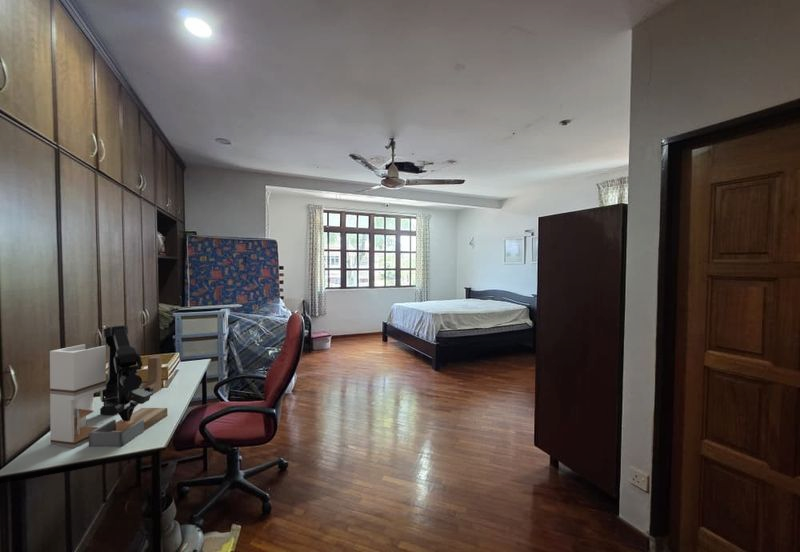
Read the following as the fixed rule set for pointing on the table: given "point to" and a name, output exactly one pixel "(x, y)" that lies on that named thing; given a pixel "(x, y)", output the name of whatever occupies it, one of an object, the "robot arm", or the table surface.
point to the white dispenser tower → (74, 392)
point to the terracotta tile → (123, 425)
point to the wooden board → (148, 416)
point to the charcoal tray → (114, 435)
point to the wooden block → (154, 373)
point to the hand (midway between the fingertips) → (127, 422)
